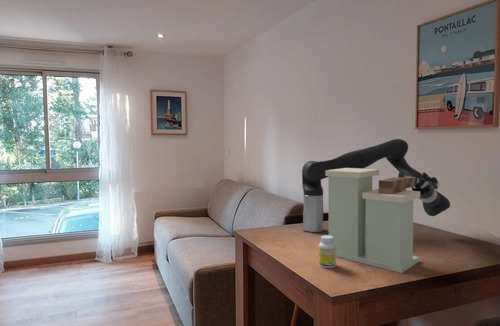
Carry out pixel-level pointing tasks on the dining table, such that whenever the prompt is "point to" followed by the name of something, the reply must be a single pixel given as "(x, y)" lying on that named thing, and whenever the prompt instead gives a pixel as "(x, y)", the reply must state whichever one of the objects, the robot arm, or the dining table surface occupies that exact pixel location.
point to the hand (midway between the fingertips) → (411, 173)
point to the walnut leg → (395, 185)
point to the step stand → (370, 220)
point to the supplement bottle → (327, 252)
